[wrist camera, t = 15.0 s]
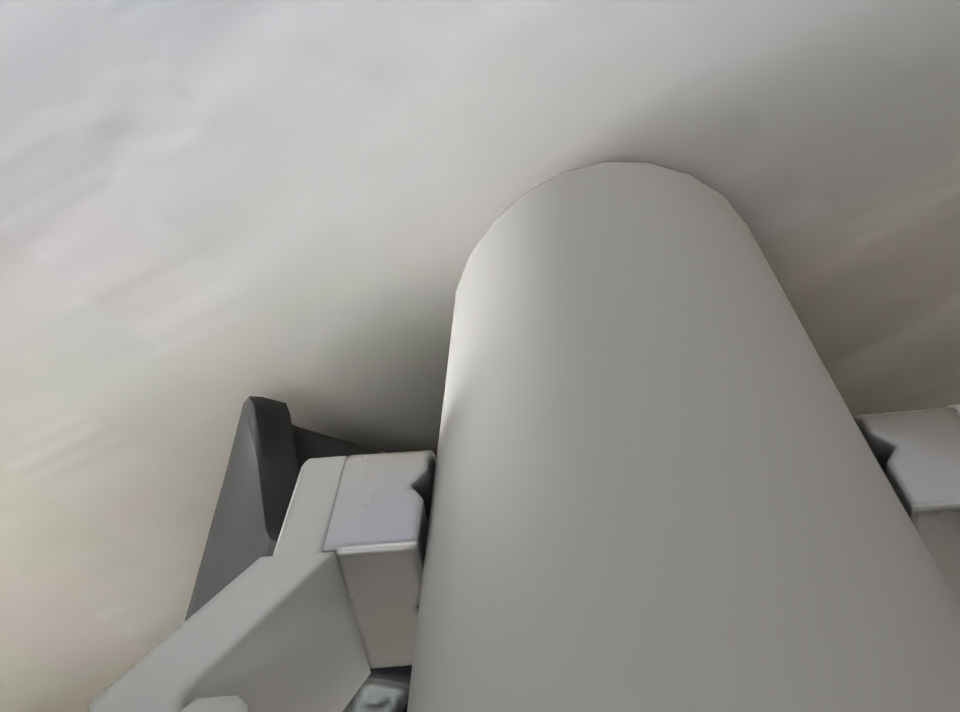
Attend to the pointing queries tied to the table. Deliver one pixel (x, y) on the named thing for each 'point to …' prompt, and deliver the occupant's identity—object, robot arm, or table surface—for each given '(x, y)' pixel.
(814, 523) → the beverage can
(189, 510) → the table surface
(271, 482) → the keyboard
